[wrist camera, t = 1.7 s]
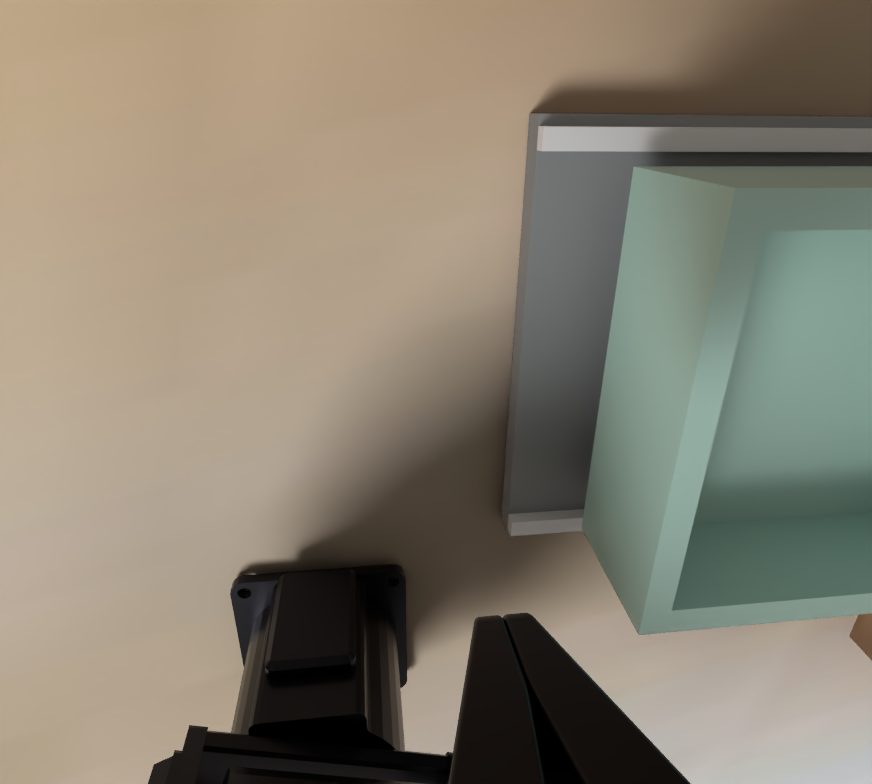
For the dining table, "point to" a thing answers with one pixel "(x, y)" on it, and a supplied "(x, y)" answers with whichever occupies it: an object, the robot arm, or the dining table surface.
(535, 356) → the rail board
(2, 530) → the dining table surface
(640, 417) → the sage green storage bin
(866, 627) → the block
